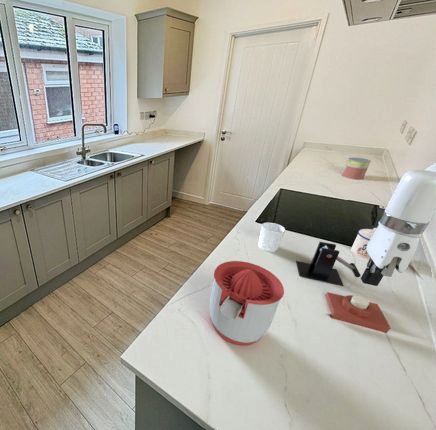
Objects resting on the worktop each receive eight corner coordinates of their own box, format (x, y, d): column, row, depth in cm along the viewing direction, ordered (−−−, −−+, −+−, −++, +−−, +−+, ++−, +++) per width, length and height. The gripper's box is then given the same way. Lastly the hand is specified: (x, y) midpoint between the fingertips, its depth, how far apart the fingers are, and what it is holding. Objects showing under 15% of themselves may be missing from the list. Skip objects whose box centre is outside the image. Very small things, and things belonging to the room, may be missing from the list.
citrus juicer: (190, 331, 71) (200, 273, 62) (220, 298, 82) (232, 244, 73) (250, 371, 61) (272, 309, 52) (275, 327, 72) (296, 269, 63)
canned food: (344, 173, 187) (351, 156, 182) (365, 176, 180) (372, 159, 174) (340, 176, 181) (346, 159, 176) (361, 180, 173) (368, 162, 168)
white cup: (266, 256, 101) (273, 233, 96) (251, 245, 108) (257, 224, 103) (283, 252, 103) (290, 230, 98) (267, 242, 110) (273, 221, 105)
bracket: (335, 272, 92) (348, 243, 86) (342, 288, 85) (356, 258, 79) (295, 263, 96) (305, 236, 91) (298, 278, 89) (309, 249, 84)
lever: (350, 268, 88) (357, 263, 86) (356, 278, 83) (363, 274, 82) (318, 246, 89) (324, 241, 88) (322, 255, 84) (328, 251, 83)
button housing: (374, 309, 77) (380, 299, 75) (386, 333, 69) (393, 322, 68) (324, 297, 81) (329, 287, 79) (331, 318, 74) (336, 308, 72)
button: (364, 302, 74) (366, 297, 74) (368, 311, 72) (371, 306, 71) (348, 298, 76) (350, 294, 75) (352, 307, 73) (354, 302, 72)
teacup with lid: (352, 258, 99) (365, 231, 93) (346, 246, 106) (358, 220, 100) (394, 267, 93) (411, 239, 88) (386, 253, 101) (400, 227, 95)
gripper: (442, 242, 54) (399, 306, 63) (408, 213, 66) (375, 270, 75) (395, 234, 57) (360, 296, 66) (370, 207, 69) (343, 263, 78)
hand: (368, 282), depth 70 cm, fingers closed
